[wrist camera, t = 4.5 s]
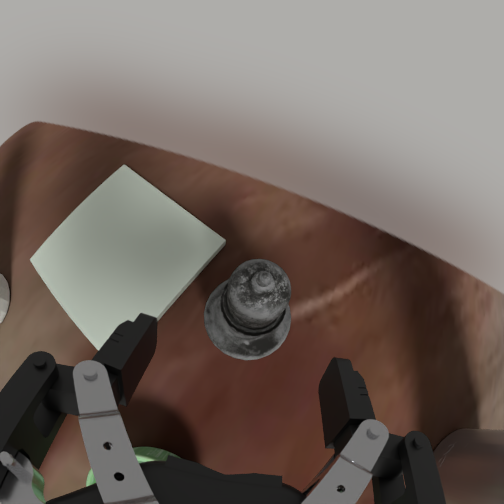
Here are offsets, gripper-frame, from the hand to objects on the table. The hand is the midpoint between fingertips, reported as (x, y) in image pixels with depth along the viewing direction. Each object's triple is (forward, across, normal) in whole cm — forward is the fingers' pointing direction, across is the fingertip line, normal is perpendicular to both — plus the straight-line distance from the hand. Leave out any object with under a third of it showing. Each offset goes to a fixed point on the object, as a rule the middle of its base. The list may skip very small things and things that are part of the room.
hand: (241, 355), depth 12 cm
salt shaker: (+9, 0, +5) cm, 10 cm away
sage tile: (+11, +12, +2) cm, 17 cm away
